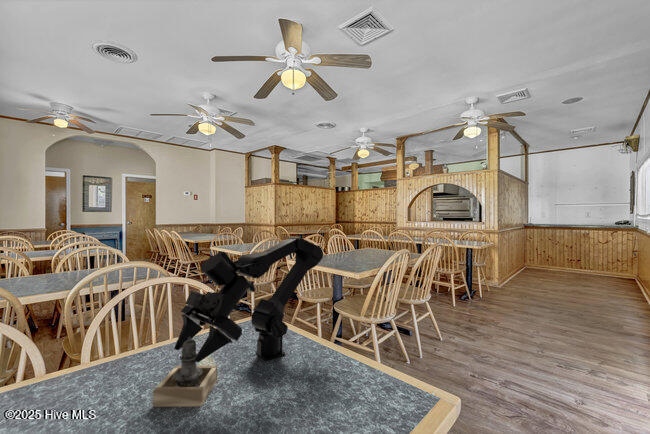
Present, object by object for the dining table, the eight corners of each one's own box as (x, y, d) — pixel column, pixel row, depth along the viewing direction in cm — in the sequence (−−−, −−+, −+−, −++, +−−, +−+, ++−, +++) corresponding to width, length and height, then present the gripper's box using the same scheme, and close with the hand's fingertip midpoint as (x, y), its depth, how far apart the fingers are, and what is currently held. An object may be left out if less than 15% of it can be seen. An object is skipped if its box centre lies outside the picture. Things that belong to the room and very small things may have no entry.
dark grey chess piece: (200, 395, 64) (201, 340, 64) (170, 399, 62) (171, 343, 63) (204, 380, 70) (205, 330, 70) (177, 383, 68) (178, 332, 68)
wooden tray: (175, 380, 71) (175, 366, 71) (217, 380, 71) (217, 365, 71) (152, 406, 61) (153, 389, 61) (201, 406, 61) (201, 389, 61)
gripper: (189, 272, 76) (141, 327, 67) (231, 282, 64) (180, 350, 55) (216, 297, 82) (175, 349, 73) (259, 310, 70) (217, 374, 62)
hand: (185, 355), depth 66 cm, fingers open, 9 cm apart
